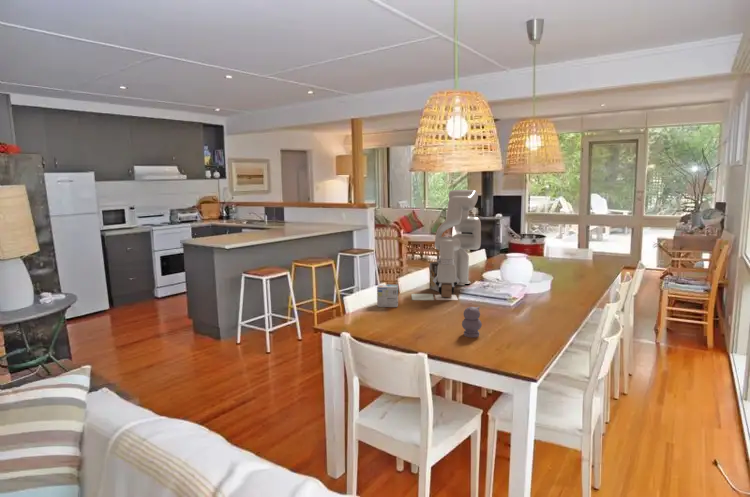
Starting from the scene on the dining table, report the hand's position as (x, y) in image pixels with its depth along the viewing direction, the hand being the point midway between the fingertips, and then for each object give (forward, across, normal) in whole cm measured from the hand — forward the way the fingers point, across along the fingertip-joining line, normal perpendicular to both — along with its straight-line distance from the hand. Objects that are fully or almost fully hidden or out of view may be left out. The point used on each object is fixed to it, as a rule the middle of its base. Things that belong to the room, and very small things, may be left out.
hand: (446, 293), depth 256 cm
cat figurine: (+2, +4, -64) cm, 64 cm away
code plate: (+2, 0, 0) cm, 2 cm away
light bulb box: (+2, -32, -18) cm, 37 cm away
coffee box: (+3, -3, +20) cm, 20 cm away
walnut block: (+1, 0, 0) cm, 1 cm away
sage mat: (+2, -13, 0) cm, 13 cm away
